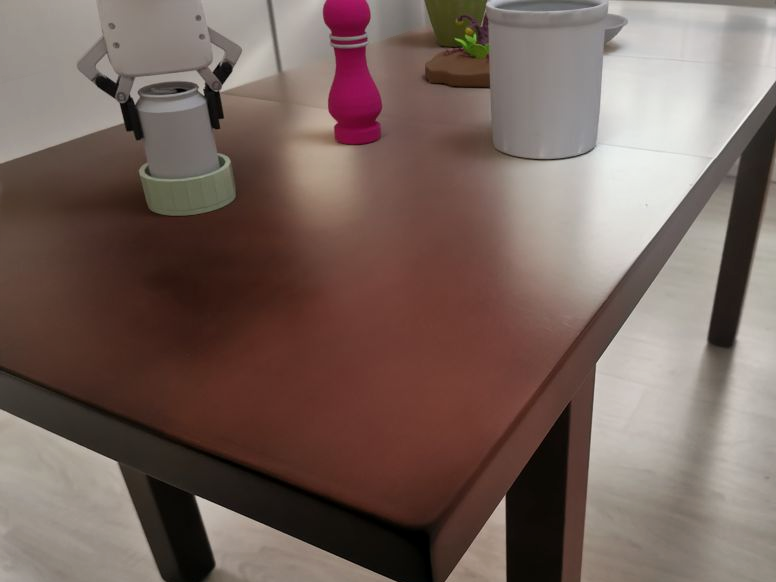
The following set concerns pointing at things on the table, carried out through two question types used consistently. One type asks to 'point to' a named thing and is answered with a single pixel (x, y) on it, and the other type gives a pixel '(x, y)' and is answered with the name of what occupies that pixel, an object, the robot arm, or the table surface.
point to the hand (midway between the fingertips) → (177, 130)
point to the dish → (613, 26)
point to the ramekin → (190, 191)
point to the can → (176, 130)
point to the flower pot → (453, 19)
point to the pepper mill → (352, 73)
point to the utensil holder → (545, 75)
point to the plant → (464, 59)
